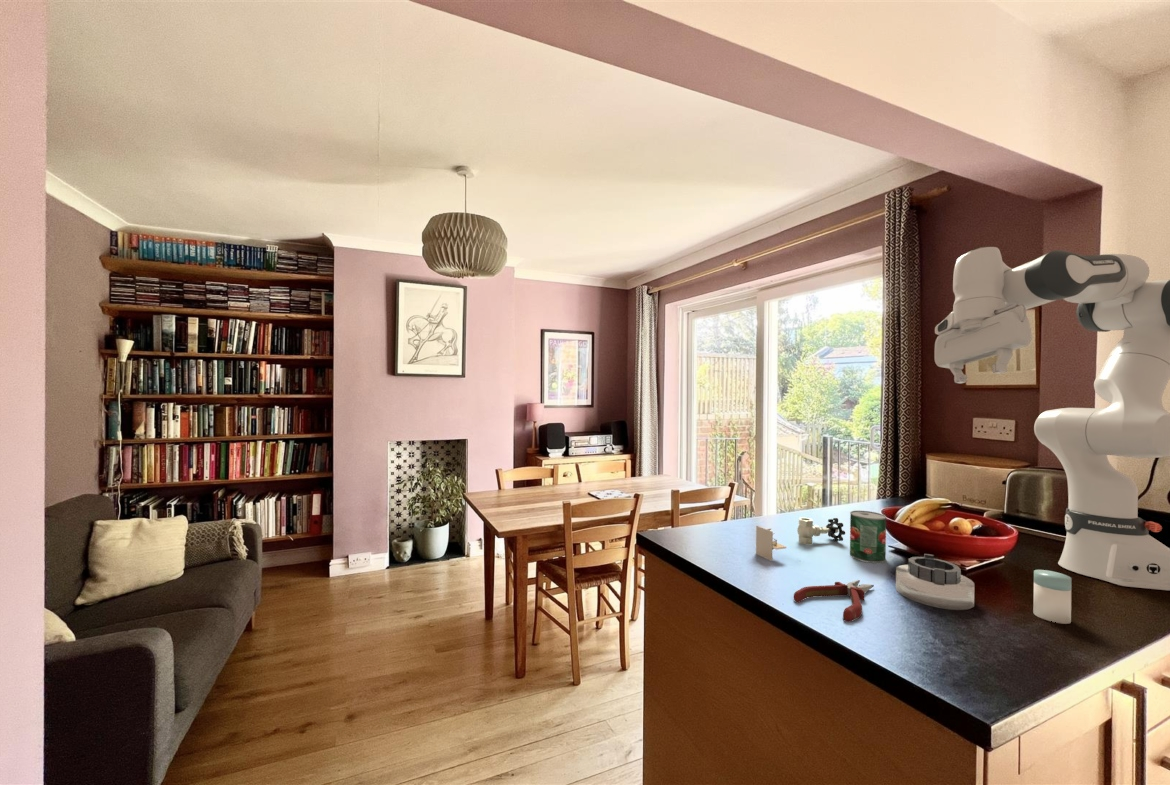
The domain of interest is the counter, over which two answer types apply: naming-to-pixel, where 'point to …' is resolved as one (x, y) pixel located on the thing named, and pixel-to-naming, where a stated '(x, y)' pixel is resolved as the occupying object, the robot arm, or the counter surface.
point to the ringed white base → (935, 583)
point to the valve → (818, 530)
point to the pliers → (838, 590)
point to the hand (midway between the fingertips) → (979, 377)
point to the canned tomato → (868, 536)
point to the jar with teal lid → (1052, 596)
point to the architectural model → (766, 543)
